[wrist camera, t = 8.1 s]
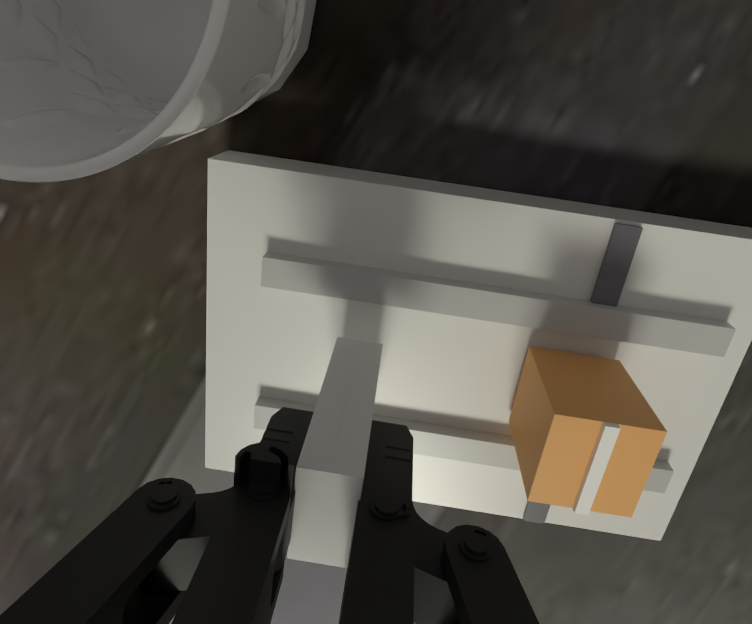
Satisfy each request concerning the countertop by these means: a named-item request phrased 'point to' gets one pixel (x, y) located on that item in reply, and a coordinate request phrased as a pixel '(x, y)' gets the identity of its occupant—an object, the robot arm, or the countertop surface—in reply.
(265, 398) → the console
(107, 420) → the countertop surface
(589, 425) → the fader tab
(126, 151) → the white cup
